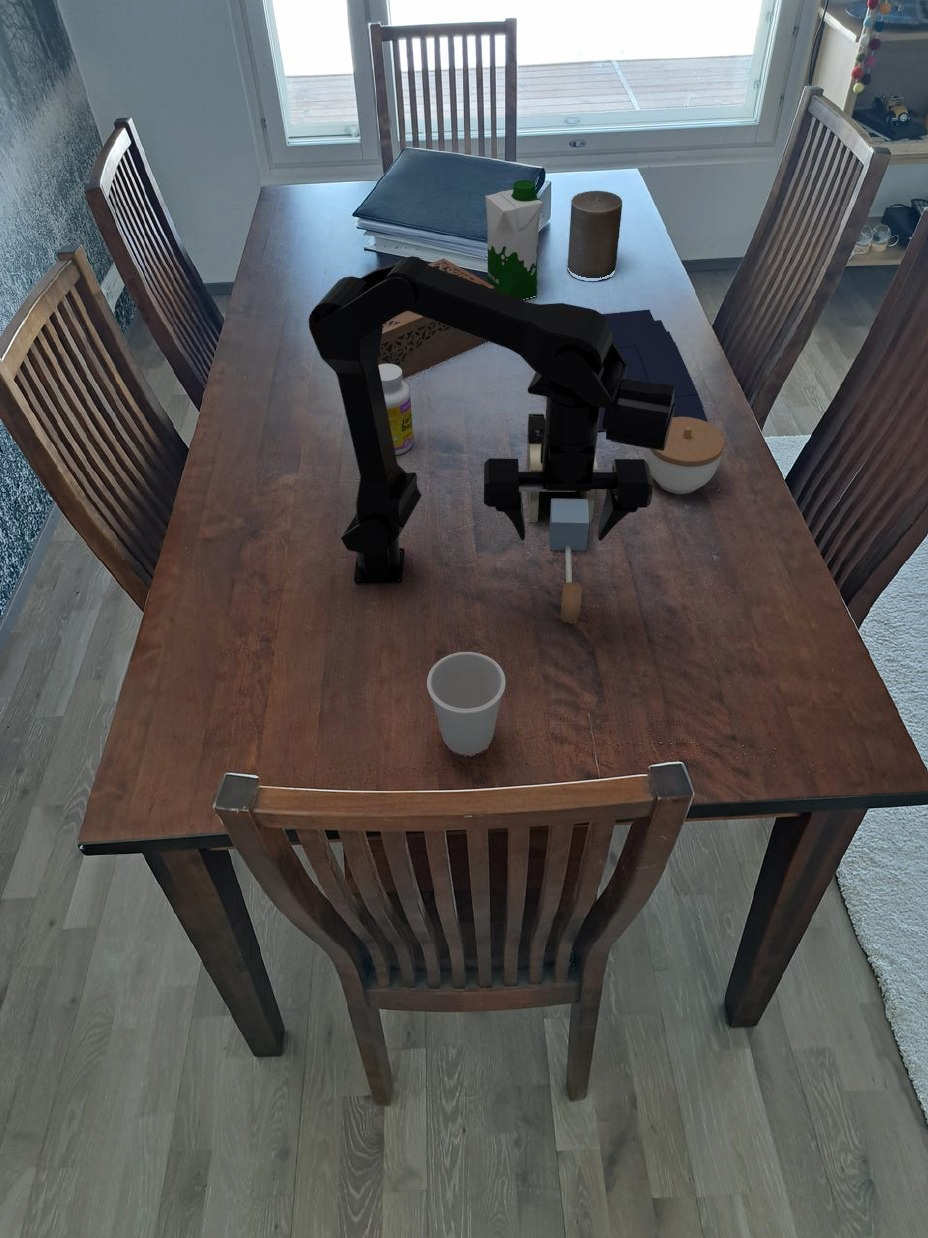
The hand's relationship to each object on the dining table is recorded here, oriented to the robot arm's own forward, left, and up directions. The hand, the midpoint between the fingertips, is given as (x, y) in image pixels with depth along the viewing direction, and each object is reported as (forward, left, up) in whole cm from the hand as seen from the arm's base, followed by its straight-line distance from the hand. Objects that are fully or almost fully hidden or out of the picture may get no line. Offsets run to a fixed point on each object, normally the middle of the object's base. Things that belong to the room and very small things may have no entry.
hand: (561, 537), depth 109 cm
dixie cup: (-21, +11, -12) cm, 26 cm away
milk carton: (+83, +3, -12) cm, 84 cm away
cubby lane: (+21, -2, -12) cm, 24 cm away
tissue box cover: (+64, +21, -12) cm, 69 cm away
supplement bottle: (+35, +23, -12) cm, 44 cm away
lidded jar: (+25, -20, -12) cm, 34 cm away
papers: (+53, -13, -12) cm, 56 cm away
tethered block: (+6, -2, -12) cm, 13 cm away
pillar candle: (+92, -13, -12) cm, 94 cm away
